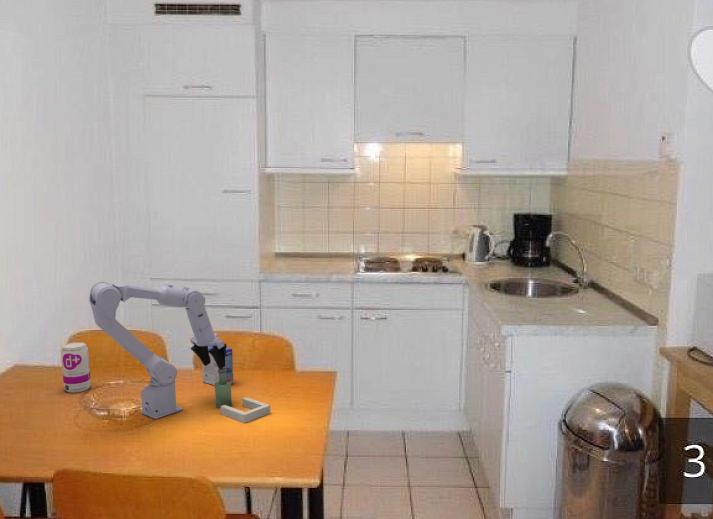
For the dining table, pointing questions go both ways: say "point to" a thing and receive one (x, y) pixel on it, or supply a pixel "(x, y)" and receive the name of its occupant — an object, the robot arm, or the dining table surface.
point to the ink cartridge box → (212, 369)
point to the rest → (256, 412)
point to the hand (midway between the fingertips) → (214, 365)
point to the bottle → (223, 390)
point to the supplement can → (75, 367)
